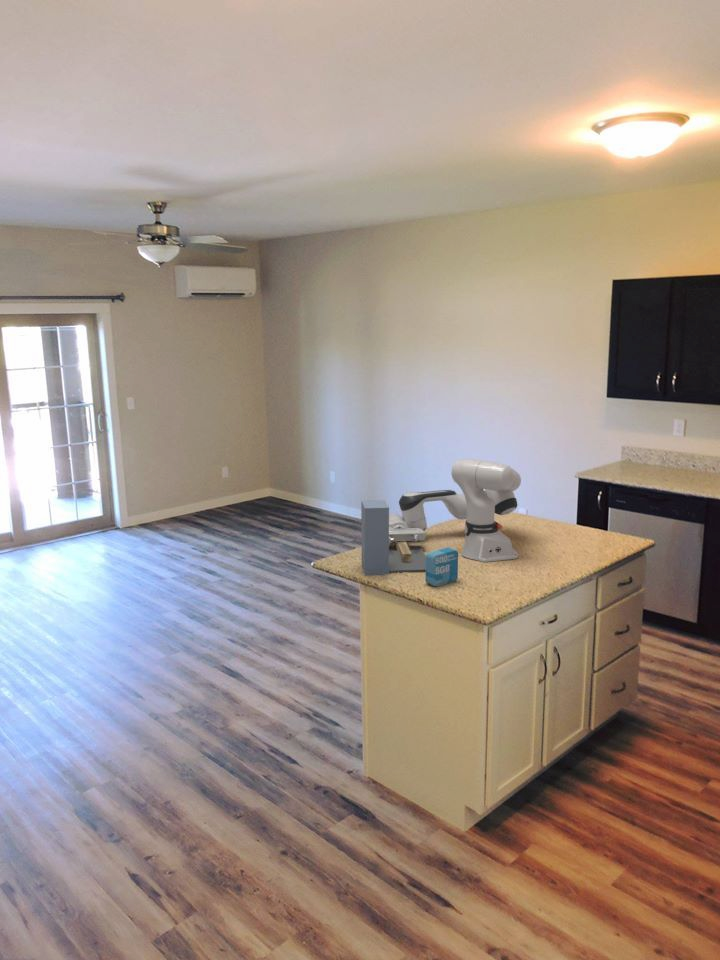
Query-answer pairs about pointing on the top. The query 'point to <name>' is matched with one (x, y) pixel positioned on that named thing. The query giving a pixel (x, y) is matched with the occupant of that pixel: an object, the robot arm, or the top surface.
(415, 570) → the rubber mat
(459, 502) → the robot arm
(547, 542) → the top surface
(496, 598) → the top surface
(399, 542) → the maple rod
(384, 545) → the slate block
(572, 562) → the top surface
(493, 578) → the top surface
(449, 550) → the data package
